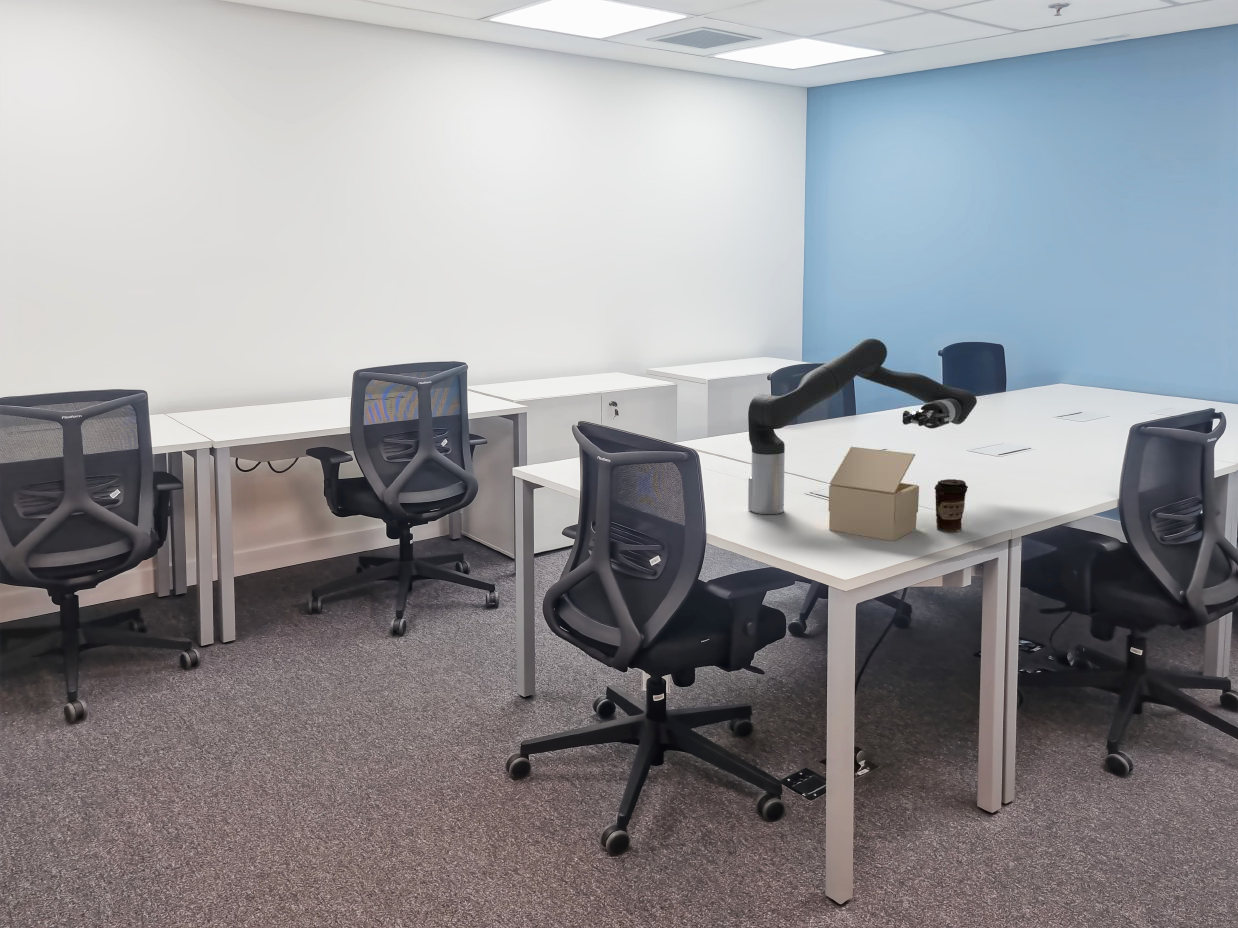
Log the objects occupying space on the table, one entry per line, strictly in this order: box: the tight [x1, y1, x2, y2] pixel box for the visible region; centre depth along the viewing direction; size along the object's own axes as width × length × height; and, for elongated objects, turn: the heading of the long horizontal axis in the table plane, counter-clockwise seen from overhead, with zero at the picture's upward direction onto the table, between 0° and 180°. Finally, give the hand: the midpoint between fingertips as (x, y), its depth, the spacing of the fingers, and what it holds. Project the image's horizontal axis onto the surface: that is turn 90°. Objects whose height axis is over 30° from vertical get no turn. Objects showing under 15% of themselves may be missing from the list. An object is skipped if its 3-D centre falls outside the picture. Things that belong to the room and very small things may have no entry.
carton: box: [828, 482, 920, 542], centre depth 265 cm, size 19×14×12 cm
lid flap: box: [829, 446, 916, 494], centre depth 262 cm, size 18×14×1 cm
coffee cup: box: [934, 478, 969, 533], centre depth 264 cm, size 9×8×13 cm
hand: (912, 421), depth 277 cm, fingers open, 3 cm apart
